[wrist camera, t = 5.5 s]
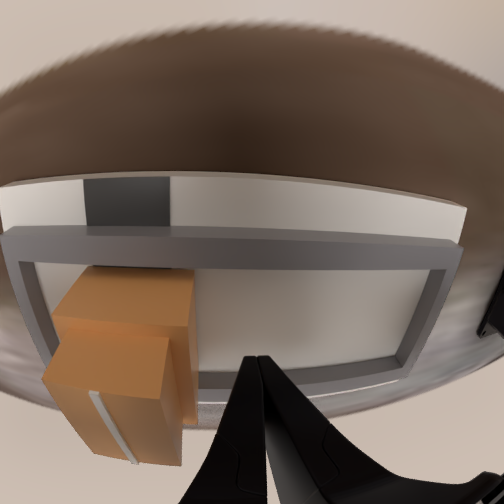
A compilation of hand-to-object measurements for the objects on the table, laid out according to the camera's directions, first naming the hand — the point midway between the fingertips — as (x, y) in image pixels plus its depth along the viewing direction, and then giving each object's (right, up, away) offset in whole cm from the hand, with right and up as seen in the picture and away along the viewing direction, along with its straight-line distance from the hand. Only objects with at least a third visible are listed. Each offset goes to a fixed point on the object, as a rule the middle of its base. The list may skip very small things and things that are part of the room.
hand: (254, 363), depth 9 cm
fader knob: (-4, +1, +1) cm, 4 cm away
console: (-1, +1, +3) cm, 3 cm away
